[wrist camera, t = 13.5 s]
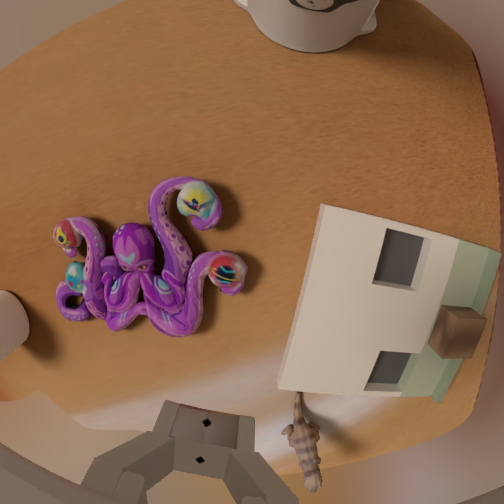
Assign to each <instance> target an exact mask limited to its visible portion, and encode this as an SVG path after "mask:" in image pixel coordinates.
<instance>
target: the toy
mask: <svg viewBox="0 0 504 504" xmlns="http://www.w3.org/2000/svg"><path fill="white" fill-rule="evenodd" d="M319 429H320V428H319V427H318V426H316V425H314V424H313V423H308V424H307V423H306V421H305V419H304V417H303V413H302V407H301V391H297V395H296V399H295V406H294V427H293V425H288V426H287V428H286V429H285V430H284V431H283V432H282V433H281V434H283V435H285V434H288V438H287V439H288V440H289V446H291V447H294V448H295V449H296V454H297V455H298V457H299V459H300V462H299V466H300V467H301V469H302V470H303V473H304V477H303V478H304V485H305V486H306V487H307V490H308V491H309V492H310V493H315V492H316V491H317V489H319V488H321V487H322V486H321V483H322V476H321V473H320V469H319V466H318V464H320V462H321V458H320V457H318V453H317V445H316V443H317V442H318V440H319V439H320V436H319V431H318V430H319Z"/></svg>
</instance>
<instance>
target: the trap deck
mask: <svg viewBox="0 0 504 504" xmlns="http://www.w3.org/2000/svg"><path fill="white" fill-rule="evenodd" d="M501 254H502V253H500V252H497V251H495V250H492V249H490V248H487V247H485V246H482V245H478V244H475V243H472V242H469V241H465V240H462V239H459V238H456V237H452V236H449V235H445V234H442V233H438V232H435V231H431V230H428V229H424V228H421V227H417V226H413V225H410V224H406V223H402V222H398V221H394V220H391V219H387V218H383V217H379V216H375V215H371V214H367V213H362V212H358V211H354V210H350V209H346V208H341V207H337V206H333V205H328V204H324V203H321V205H320V210H319V214H318V219H317V223H316V228H315V233H314V237H313V241H312V246H311V250H310V255H309V259H308V263H307V267H306V272H305V276H304V280H303V284H302V288H301V292H300V296H299V300H298V304H297V308H296V312H295V315H294V319H293V323H292V327H291V331H290V334H289V338H288V342H287V345H286V349H285V352H284V356H283V360H282V363H281V367H280V370H279V374H278V377H277V384H278V389H283V390H292V391H301V392H311V393H322V394H336V395H352V396H381V397H417V396H431V397H432V398H433V400H434V401H435V403H441V401H442V399H443V397H444V396H445V394H446V392H447V390H448V388H449V386H450V384H451V383H452V381H453V379H454V377H455V375H456V373H457V371H458V369H459V367H460V365H461V363H462V361H463V358H459V359H441V358H440V356H439V355H438V354H437V353H436V352H435V351H434V350H433V349H432V348H431V347H430V345H429V344H428V341H429V338H430V335H431V333H432V330H433V327H434V324H435V321H436V319H437V316H438V313H439V310H440V307H441V305H449V306H459V307H470V308H471V309H473V310H474V311H476V312H477V313H478V314H480V315H481V316H482V314H483V311H484V308H485V305H486V303H487V300H488V297H489V294H490V291H491V288H492V285H493V282H494V278H495V275H496V272H497V268H498V265H499V261H500V258H501Z"/></svg>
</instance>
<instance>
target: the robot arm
mask: <svg viewBox="0 0 504 504" xmlns="http://www.w3.org/2000/svg"><path fill="white" fill-rule="evenodd" d="M234 2H235V3H236V4H237V5H239V6H240V7H241V8H243V9H244V10H246V11H247V12H248V13H249V14H250V15H251V17H252V19H253V20H254V22H255V24H256V25H257V27H258V28H259V29H260V30H261V31H262V32H263V33H264V34H265V35H266V36H267V37H269V38H270V39H272V40H273V41H275V42H277V43H278V44H280V45H283V46H285V47H288V48H290V49H294V50H298V51H303V52H326V51H331V50H335V49H337V48H340V47H342V46H344V45H345V44H347V43H348V42H349V41H351V40H352V39H353V38H355V37H356V36H358V35H363V34H368V33H371V32H373V31H374V30H375V29H376V27H377V22H376V16H375V9H376V7H377V5H378V4H379V2H380V0H234ZM254 439H255V418H254V417H251V416H243V415H235V414H229V413H223V412H217V411H212V410H206V409H202V408H197V407H193V406H189V405H185V404H179V403H175V402H172V401H168V400H166V401H165V402H164V403H163V406H162V408H161V411H160V413H159V416H158V418H157V421H156V423H155V426H154V429H153V431H152V432H151V431H147V432H145V433H143V434H141V435H139V436H137V437H135V438H133V439H132V440H130V441H128V442H126V443H124V444H122V445H120V446H118V447H116V448H114V449H112V450H110V451H108V452H106V453H104V454H102V455H100V456H98V457H95V458H94V460H93V462H92V464H91V466H90V468H89V469H88V471H87V473H86V475H85V477H84V479H83V481H82V483H81V485H78V484H76V483H74V482H71V481H69V480H67V479H65V478H63V477H61V476H58V475H57V474H55V473H52V472H50V471H49V470H47V469H45V468H43V467H41V466H39V465H37V464H35V463H34V462H32V461H30V460H28V459H26V458H25V457H23V456H21V455H19V454H18V453H16V452H15V451H13V450H11V449H10V448H8V447H6V446H5V445H3V444H2V443H0V504H148V503H147V494H146V491H147V490H149V489H150V488H151V487H153V486H154V485H155V484H157V483H158V482H159V481H161V480H162V479H163V478H164V477H166V476H167V475H168V474H169V473H171V472H172V471H173V470H176V471H181V472H187V473H192V474H198V475H202V476H208V477H212V478H218V479H223V481H224V483H225V484H226V486H227V488H228V490H229V491H230V493H231V495H232V497H233V498H234V500H235V502H236V503H237V504H299V500H298V497H297V496H296V495H295V494H294V493H293V492H292V491H291V490H290V489H289V488H288V486H287V485H286V484H285V483H284V482H283V481H282V480H281V478H280V477H279V476H278V475H277V474H276V473H275V471H274V470H273V469H272V468H271V467H270V465H269V464H268V463H267V462H266V461H265V459H264V458H263V457H262V456H261V455H260V453H259V452H254ZM458 504H504V486H502V487H499V488H497V489H495V490H492V491H490V492H487V493H485V494H482V495H480V496H477V497H475V498H472V499H469V500H467V501H464V502H461V503H458Z"/></svg>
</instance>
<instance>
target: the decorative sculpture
mask: <svg viewBox="0 0 504 504" xmlns="http://www.w3.org/2000/svg"><path fill="white" fill-rule="evenodd" d="M177 190H181V192H180V193H179V195H178V198H177V208H178V210H179V212H180V213H181V214H183V215H185V216H198V217H194V218H193V219H192V220H191V221H192V225H193V226H194V227H195V228H196V229H199V230H202V231H204V230H208V229H211V228H213V227H215V226H216V225H217V224H218V223H219V221H220V219H221V216H222V212H223V208H222V204H221V201H220V199H219V196H218V195H217V194H216V193H215V192H214V190H213V189H212V187H211V186H210V185H209V184H208V183H207V182H205V181H204V180H199V179H196V178H193V177H185V176H181V177H174V178H168V179H166V180H163V181H162V182H160V183H159V184H158V185H156V186H155V188H154V189H153V190H152V192H151V195H150V198H149V207H148V210H149V216H150V220H151V223H152V226H153V229H154V231H155V233H156V235H157V237H158V239H159V241H160V243H161V245H162V248H163V251H164V258H165V263H164V266H163V269H162V273H161V274H162V276H161V275H158V274H155V273H154V272H153V270H154V269H155V265H156V261H155V255H154V250H155V242H154V238H153V235H152V234H151V232H150V231H149V229H148V228H146V227H145V226H144V225H141V224H138V223H127V224H123V225H121V226H120V227H119V228H118V229H117V230H116V232H115V233H114V236H113V239H112V240H113V249H114V253H115V255H116V256H115V255H113V256H107V257H105V251H106V246H105V238H104V236H103V233H102V231H101V229H100V227H99V226H98V225H97V224H96V223H95V222H94V221H93V220H91V219H90V218H87V217H85V216H77V217H73V218H71V217H69V218H64V219H63V220H61V221H60V222H59V223H58V224H57V225H56V226H55V228H54V232H53V238H54V240H55V242H56V243H57V244H58V245H59V246H60V247H62V248H63V250H64V252H65V253H66V255H68V256H69V257H71V258H74V257H75V256H76V254H77V251H76V249H75V248H74V247H78V246H80V244H81V241H82V239H83V236H84V238H85V240H86V242H87V257H86V262H85V264H84V263H82V262H77V261H74V262H72V263H71V264H70V265H69V266H68V268H67V270H66V280H62V281H61V282H60V283H59V285H58V287H57V291H56V301H57V306H58V309H59V311H60V312H61V313H62V315H63V316H64V317H65V318H66V319H68V320H69V321H83V320H85V319H87V318H88V317H89V316H90V315H91V313H92V314H93V315H94V316H95V317H96V318H98V319H101V320H106V323H107V327H108V328H109V329H110V330H111V331H114V332H117V331H120V330H123V329H125V328H127V327H128V326H129V325H130V324H131V322H132V321H133V320H134V319H135V318H136V317H137V316H139V315H145V316H148V317H149V320H150V321H151V322H152V324H153V325H154V327H155V328H156V329H157V330H158V331H160V332H162V333H163V334H166V335H168V336H172V337H185V336H188V335H190V334H192V333H194V332H196V330H197V328H198V327H199V325H200V322H201V320H202V316H203V286H204V279H205V278H206V277H207V276H208V275H209V278H210V280H211V281H212V282H213V283H214V284H215V285H216V286H218V287H221V289H220V291H221V292H223V293H225V294H227V295H231V296H234V295H236V294H238V293H239V292H240V291H241V289H242V288H243V287H244V283H245V275H246V273H247V270H248V267H247V265H246V263H245V261H244V260H243V259H242V258H241V257H240V256H238V255H237V254H235V253H233V252H230V251H226V250H222V251H220V252H217V251H210V252H204V253H201V254H199V255H198V257H197V258H196V259H195V260H194V261H193V262H192V251H191V249H190V247H189V246H188V244H187V242H186V241H185V239H184V237H183V236H182V234H181V233H180V232H179V230H178V229H177V228H176V227H175V226H174V225H173V224H172V222H171V220H170V218H169V216H168V214H167V210H166V203H167V199H168V197H169V195H170V194H171V193H173V192H175V191H177ZM104 257H105V258H104ZM191 262H192V265H191ZM190 265H191V268H190ZM189 268H190V270H189ZM122 269H123V270H125V271H130V272H129V273H128V272H125V273H124V274H123V270H122ZM137 270H138V271H137ZM188 270H189V272H188ZM141 271H142V272H141ZM103 273H104V274H103ZM187 273H188V279H187V284H186V289H185V282H186V277H187ZM120 275H121V276H120ZM117 278H118V279H117ZM116 279H117V280H116ZM114 280H116V281H115V283H114V285H113V287H112V284H113V282H114ZM141 286H142V289H143V291H144V292H143V295H144V300H145V302H139V303H137V301H138V296H139V292H140V287H141ZM81 293H83V297H84V298H83V300H82V302H81V304H80V305H77V306H73V305H72V304H71V302H70V299H69V297H70V296H81V295H82V294H81ZM185 294H186V297H185ZM184 300H185V304H184V303H183V301H184Z"/></svg>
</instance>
